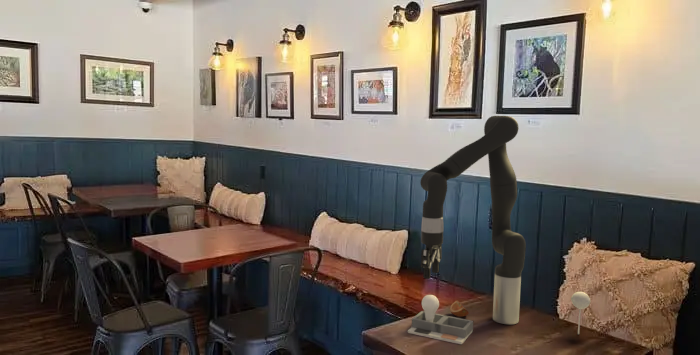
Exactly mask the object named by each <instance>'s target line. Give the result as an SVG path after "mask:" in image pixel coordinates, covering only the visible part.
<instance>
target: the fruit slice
mask: <svg viewBox="0 0 700 355" xmlns="http://www.w3.org/2000/svg"><path fill="white" fill-rule="evenodd" d="M449 311H450V313H451V314H452V315H453V316H456V317H457V318H463V317H466V316H468V315H469V311H468V310H467V309H466V308H465V307H464V306H463V305H462V304H461V302H459V300H458V299H457V300H455V301H454V302H452V304H451V305H450V306H449Z"/></svg>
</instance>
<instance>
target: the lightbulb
mask: <svg viewBox="0 0 700 355" xmlns="http://www.w3.org/2000/svg"><path fill="white" fill-rule="evenodd" d="M421 306H422V309H423V311H424V312H425V318H426V321H430V322H433V319H434V315H435V314H436V313H437V311H438V309H439V308H440V301H439V299H438V297H437V296H436V295H433V294H426V295H424V296H423V298H422V300H421Z"/></svg>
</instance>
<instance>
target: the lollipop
mask: <svg viewBox="0 0 700 355" xmlns="http://www.w3.org/2000/svg"><path fill="white" fill-rule="evenodd" d="M570 300H571V303H572V305H573V306H574V307H575V308H576V309H579V310H578V323H577V325H578V328H577V335H580V328H581V313H582V310H584V309H586V308H588V307H589V305H591V298H590V296H589V295H588V294H587V293H585V292H584V291H576V292H574V293H573V294H572V296H571V298H570Z"/></svg>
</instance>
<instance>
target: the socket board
mask: <svg viewBox="0 0 700 355" xmlns="http://www.w3.org/2000/svg"><path fill="white" fill-rule="evenodd" d="M473 330H474V320H471V319H465V318H462V317H457V316H456V317H455V316H449V315H446V314H440V313H435V315H434V319H433V322H430V321H426V318H425V312H424V310H421V311H420V312H419V313H418V314H416V315H415V316H413V317H412V318H411V327H410V328H409V329H408V330H407V333H408V334H411V335H417V336H420V337H425V338H431V339H435V340H439V341H445V342H449V343H453V344H458V345H463V344H464V343H465V342H466V340H467V339H468V338H469V337H470V335H471V334H472V333H473V332H474V331H473Z"/></svg>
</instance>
